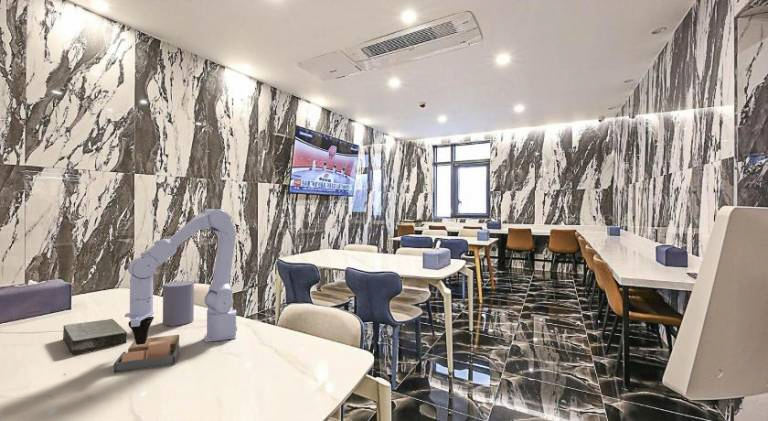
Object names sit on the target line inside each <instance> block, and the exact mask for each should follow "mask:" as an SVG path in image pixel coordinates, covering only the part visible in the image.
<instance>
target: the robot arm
mask: <svg viewBox="0 0 768 421" xmlns="http://www.w3.org/2000/svg"><path fill="white" fill-rule="evenodd" d="M207 229H208V230H209V229H210V230H212V231H213V232H214V234H216V235H217V237H218V241H217V250H216V256H215V262H214V269H213V270H214V271H213V278H212V282H211V284H210V285H209V287H208V291H207V293H206V294H205V296H204V305H206V307H207V310H206V333H205V337H204V342H205V343H208V342H209V343H210V342H216V341H217V342H218V341H225V340H232V339H236V338H237V331H238V325H237V309H232V307H233V306H234V298H233V290H232V287H231V284H230V280H231V274H232V266H233V259H234V253H235V251H234V249H235V244H236V236H237V233H236V232H237V231H236V229H235V227H234V224H233V222H232V216H231V215H230V214H229V213H228V211H226V210H225V209H222V208H217V209H216V208H215V209H213V208H206V209H204V210H203V211H202V212H200V213H198V214H196V215H195V216H194V217H193V218H191V219H190V220H189V221H188V222H187V223H186V224H185V225H184V226H182V227H181V228H180V229H179V230H178V231H176V232H175V233H174V234H173V235H172V236H170V238H162V239H160V240H156V241H154V242H153V244H154V245H153V246H151V247H150V248H149V249H147V250H146V251H145V252H144V251H142V252H141V253H140V254H139V255H140V256H138V257H135V258H133V259H132V260H131V261H130V262H129V264H128V266H127V270H128V273H129V274H130V278H129V279H130V283H129V312H126V313H125V314H124V318H129V320H130V321H128V328H130V329H131V331H132V334H133V337H134V338H133V339H134V341H136V344H137V345H140V344H145V343H146V340H147V338H148V335H149V331H150V327H151V325H152V322H153V320H154V318H155V317H154V316H153V315H155V314H154V313H155V311H154V281H153V279H154V275H155V273H156V271H157V267H160V266H161V265H162V264H164V263H165V262H166V261H168V260H169V259H170V258H171V257H172V256H174V255H175V254H176V253H177V249H178V246H179V245H180V244H182V243H183V242H186V240H188V239H189V238H190V237H191V236H193V235H195V233H197V232H199V231H201V230H203V231H204V230H207Z"/></svg>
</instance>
